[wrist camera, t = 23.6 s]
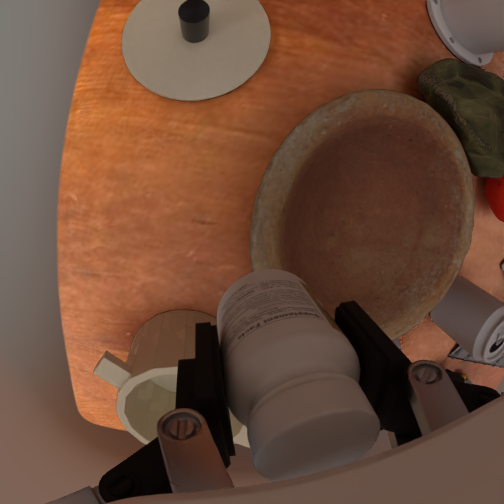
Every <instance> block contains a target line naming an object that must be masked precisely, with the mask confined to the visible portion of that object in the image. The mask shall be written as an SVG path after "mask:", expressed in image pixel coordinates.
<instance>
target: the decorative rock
mask: <svg viewBox="0 0 504 504" xmlns="http://www.w3.org/2000/svg"><path fill="white" fill-rule="evenodd" d="M417 85H418V88H419V90H420V92H421V94H422V96H423V97H424V99H425V101H426V103H427V104H428V105H429V106H431V107H432V108H433V109H434V110H435V111H436V112H437V113H438V114H439V115H440V116H441V117H442V118H443V119H444V120H445V121H446V122H447V123H448V125H449V126H450V127H451V129H452V130H453V131H454V133H455V134H456V136H457V138H458V139H459V141H460V143H461V145H462V147H463V149H464V152H465V154H466V157H467V159H468V163H469V166H470V170H471V173H472V174H473V175H474V176H478V177H490V178H497V179H498V178H501V177H502V176H503V175H504V80H503V79H501V78H500V77H499V76H497V75H495V74H493V73H489V72H485V71H484V70H483V69H481V68H480V67H478V66H476V65H473V64H463V63H462V62H460V61H458V60H455V59H451V58H446V59H443V60H440V61H438V62H436V63H435V64H433V65H431V66H430V67H428V68H427V69H425V70H424V71H423V72H422V73H421V74H420V75H419V76H418V78H417Z"/></svg>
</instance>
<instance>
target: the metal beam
mask: <svg viewBox="0 0 504 504" xmlns="http://www.w3.org/2000/svg"><path fill="white" fill-rule="evenodd" d="M448 357H451V358H452V359H453V358H456V359H461V360H464V361H471V362H474V363H476V362H477V363H482V364H484V365H486V364H487V365H492V366H493V367H494V366H498V367H500V368H502V367H504V352H503V353H502V354H501V356H500V357H498V358H497V359H496V360H494V361H492V362H487V363H486V362H485V361H484V360H481V361H477V360H475V359H474V358H473V357H472V356H471V355H470V354H469V353H468V352H467V351H465V350H464V349H463V348H462V347H461V346H459V347H458V348H457V349H455V350H454V351H453V352H452V353H451V354H450V355H448Z"/></svg>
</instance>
